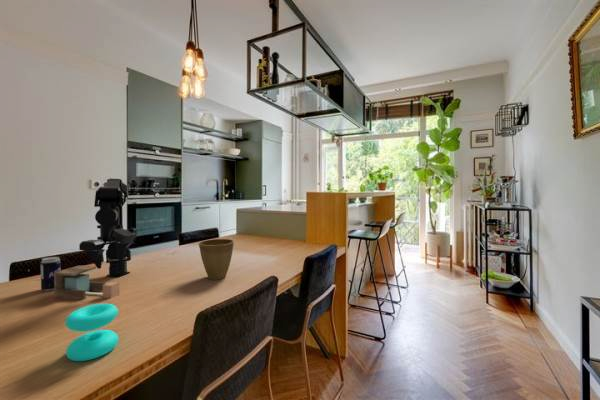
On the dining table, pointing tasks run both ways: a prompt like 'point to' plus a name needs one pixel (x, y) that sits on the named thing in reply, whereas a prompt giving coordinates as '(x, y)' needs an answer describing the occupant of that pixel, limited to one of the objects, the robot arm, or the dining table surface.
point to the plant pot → (216, 257)
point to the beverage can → (49, 272)
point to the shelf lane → (72, 293)
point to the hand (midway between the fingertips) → (110, 264)
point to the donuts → (93, 341)
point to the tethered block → (83, 284)
